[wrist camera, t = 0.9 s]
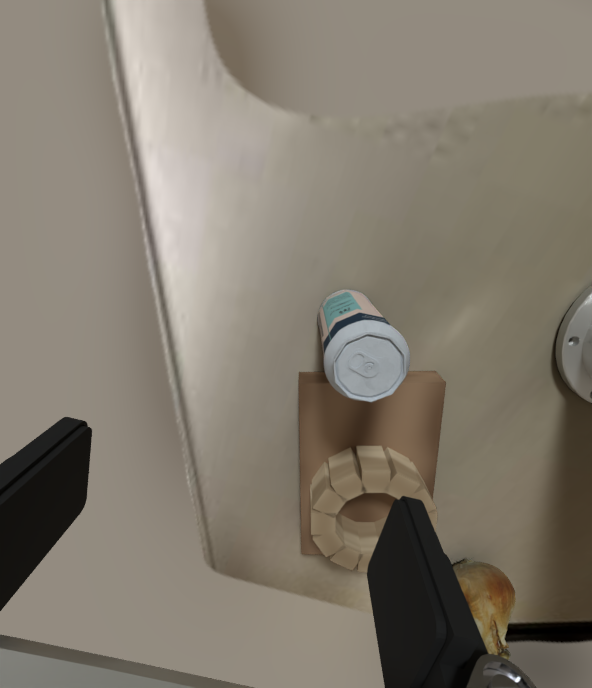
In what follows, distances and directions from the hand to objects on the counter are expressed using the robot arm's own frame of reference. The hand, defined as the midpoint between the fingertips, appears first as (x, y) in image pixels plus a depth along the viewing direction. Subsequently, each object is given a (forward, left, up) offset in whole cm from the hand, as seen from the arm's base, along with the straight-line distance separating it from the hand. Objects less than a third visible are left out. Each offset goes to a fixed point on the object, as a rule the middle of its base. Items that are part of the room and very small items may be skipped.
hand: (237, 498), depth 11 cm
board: (-7, +13, -21) cm, 26 cm away
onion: (-18, +27, -21) cm, 39 cm away
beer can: (-5, -1, -21) cm, 22 cm away
